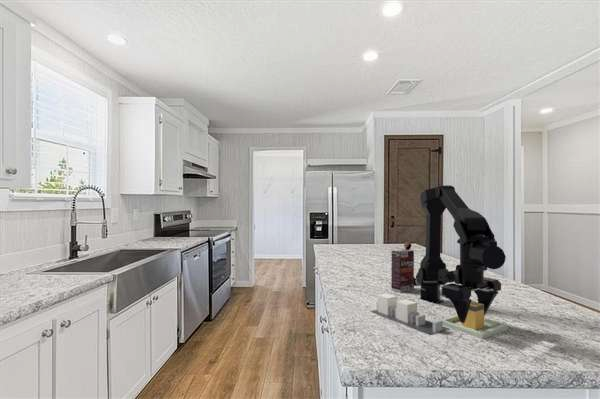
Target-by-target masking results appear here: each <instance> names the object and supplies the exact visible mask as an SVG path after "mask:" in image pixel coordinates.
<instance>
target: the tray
mask: <svg viewBox="0 0 600 399" xmlns="http://www.w3.org/2000/svg"><path fill="white" fill-rule="evenodd" d="M438 320H442V321H443V327H446V328H449V329H452V330H456V331H458V332H461V333H464V334H467V335H470V336H473V337H475V338H477V339H481V340H483V339H486V338H488V337H491V336H493V335H496V334H499V333H502V332H503V331H504V332H505V331H506V330H509V328H510V327H509V324H507V323H504V322H500V321H497V320H493V319H490V318H486V317H484V324H486V325H490V326H493V327H490V328H488V329H485V330H482V331H478V330H474V329H471V328H468V327H465V326H462V325H460V324H457V323H455V321H459V318H458V315H457V313H456V314H453V315H450V316H447V317H443V318H439V319H438Z"/></svg>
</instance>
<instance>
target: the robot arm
mask: <svg viewBox="0 0 600 399" xmlns="http://www.w3.org/2000/svg"><path fill="white" fill-rule="evenodd" d="M419 199H420V202H421V204H420V205H421V208H422V210H423V211H424V213H425V215H426V217H425V218H426V219H425V255H424V256H423V258H422V259H421V261H420V266H419V269H418V270H417V273H416V275H415V278H416V284H418V285H420V297H419V298H418V299H419V300H423V301H425V302H429V303H433V304H436V305H437V304H440V303H443V302H445V301H444V299H441V296H444V298H446V299H449V301H450V302H451V303H452V304H453V307H454V309H455V313H456V314H457V315H458V318H459V320H458V321H459V322H460V323H465V320H466V317H467V314H468V310H469V307H470V304H471V301H472V299H471V297H472V292H474V293H475V294H476V296H477V303H481V304H484V317H485V315H486V314H487V312H488V310H489V308H490V307H491V305H492V303H493V301H494V300H495V298H496V296H497V295H499V292H500V291H502V283H501V282H500V280H499V279H495V278H490V277H485V275H484V274H485V271H487V270H488V269H490V270H498V269H500V268H502V267H503V266H504V264H505V262H506V260H507V259H506V258H507V256H506V254H505V251H504V250H503V249H502V248H501V247H499V246H498V241H497V240H496V238H495V234H494V232H493V231H492V229H491V227H490V224H489V222H488V221H487V219H486V217H485V216H483V215H482V214H481V213H479V212H477V211H476V210H474V209H473V210H472V209H470V207H469V206H468V205H467V204H466V203H465V201H464V200H463V199H462V198H461V197H460V195H459V194H458V193H457V192H456V188H455V187H454V186H453V185H445V184H444V185H436V186H434V187H432V188H429V189H428V188H427V189H424V190H423V191H422V192H420V198H419ZM445 210H447V211H448V212H449V214H450V215H451V217H452V219H454V220H453V228H454V231H455V233H456V234H457V236H458V237H459V238H458V239H457V240H456V243H457V244H459V264H456V266H455V269H454V270H450V271H449V269H447V264H446V263H445V262H444V260H443V259H442V257H441V249H442V248H441V246H442V244H441V238H442V235H441V233H442V216H443V213H444V212H445ZM440 286H442V287H440Z"/></svg>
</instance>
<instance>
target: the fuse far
mask: <svg viewBox="0 0 600 399" xmlns="http://www.w3.org/2000/svg"><path fill="white" fill-rule="evenodd" d="M396 301H398V296H397V295H393V294H390V293H383V294H378V295H377V302H378V312H380V313H383V314H386V315H390V309H389V307H391V306H395V305H396Z"/></svg>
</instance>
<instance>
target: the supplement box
mask: <svg viewBox="0 0 600 399" xmlns="http://www.w3.org/2000/svg"><path fill="white" fill-rule="evenodd" d="M414 255H415V250H414V249H410V250H407V249H405V248H404V249H398V250H397V249H395V250H391V284H390V285H391V286H390V287H391V289H390V290H392V291H394V292H397V293H403V292H407V291H411V290H414V289H415V285H414V277H415V267H414V266H415V265H414V264H415V256H414Z"/></svg>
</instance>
